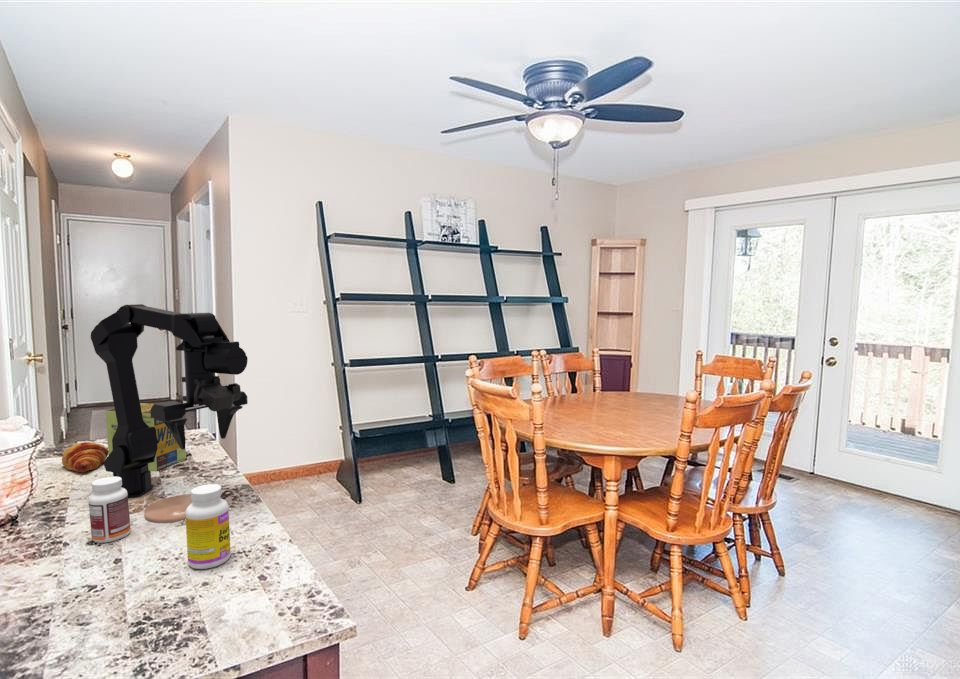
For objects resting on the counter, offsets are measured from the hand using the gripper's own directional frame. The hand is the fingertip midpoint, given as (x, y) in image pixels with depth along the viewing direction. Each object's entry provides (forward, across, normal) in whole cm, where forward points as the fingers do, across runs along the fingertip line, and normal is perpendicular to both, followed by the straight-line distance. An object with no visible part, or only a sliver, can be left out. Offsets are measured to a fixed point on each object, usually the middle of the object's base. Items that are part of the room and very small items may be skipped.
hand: (203, 443), depth 117 cm
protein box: (+14, +10, +41) cm, 44 cm away
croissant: (+15, +1, +55) cm, 57 cm away
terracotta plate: (+14, -4, +3) cm, 15 cm away
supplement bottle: (+14, -15, -23) cm, 31 cm away
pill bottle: (+14, -18, +2) cm, 23 cm away
